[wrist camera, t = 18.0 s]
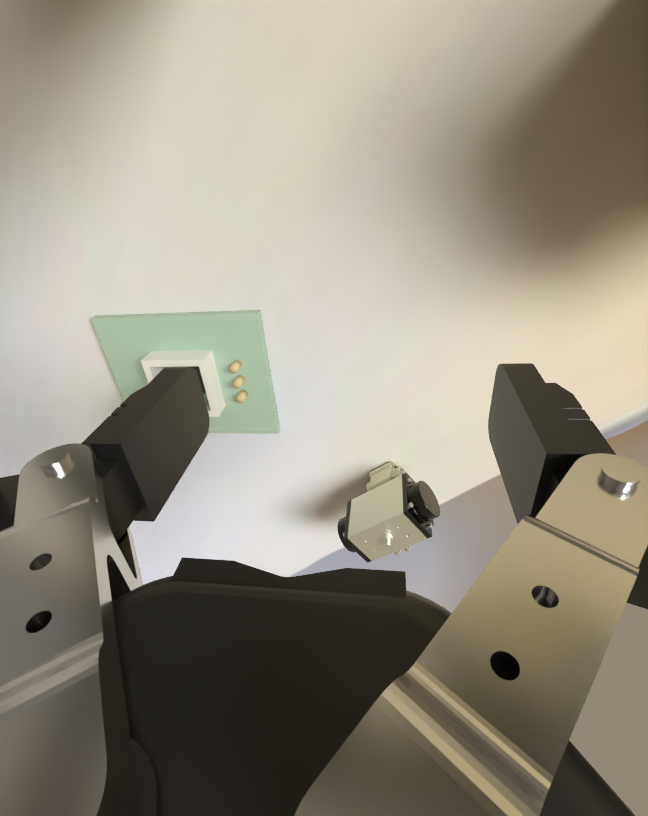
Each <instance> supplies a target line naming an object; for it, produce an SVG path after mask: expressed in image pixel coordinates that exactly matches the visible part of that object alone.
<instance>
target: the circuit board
mask: <svg viewBox="0 0 648 816" xmlns="http://www.w3.org/2000/svg"><path fill="white" fill-rule="evenodd" d="M91 322H92V324H93V327H94V329H95V332H96V334H97V337H98V339H99V342H100V344H101V347H102V349H103V352H104V354H105V357H106V359H107V362H108V364H109V367H110V369H111V372H112V374H113V377H114V379H115V382H116V384H117V387H118V389H119V392H120V394H121V397H122V399H123V402H124V401H125V400H126V399H127V398H128V397H129V396H130V395H131V394H132V393H134V392H136V391H138V390H139V389H141V388H143V387H144V386H146V385H148V384H149V383H150V382H151V381H152V380H153V379H154V377H155V376H156V375H157V374H158V373H159V372H160V371H161V370H162V369H164V368H166V367H182V366H199V368H200V372H201V376H202V380H203V383H204V387H205V391H206V392H205V394H204V399H205V402H206V406H207V410H208V413H209V430H208V433H279V431H280V425H279V419H278V413H277V407H276V401H275V395H274V389H273V383H272V377H271V371H270V365H269V359H268V353H267V348H266V342H265V336H264V330H263V324H262V318H261V312H260V310H249V311H220V312H190V313H161V314H132V315H102V316H94V317H93V318H91Z"/></svg>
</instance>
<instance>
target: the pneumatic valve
mask: <svg viewBox="0 0 648 816" xmlns="http://www.w3.org/2000/svg"><path fill="white" fill-rule="evenodd" d="M394 466H395V463H394V462H392V463H391V462H388V463H387V464H385V465H383V466H381V467H379V468H377V469H375V470H373V471H371V472H370V474H369V477H370V478H371V479H370V482H368V483H367V484H366V488H367V491H368V492H366V493H364V494H362V495H360V496H358V497H356V498H354V499H352V500H350V501H348V505H347V509H346V512H347V514H346V517H344V518H342V519H340V520H339V522H338V533H339V537H340V539H341V541H342V543H343V545H344V546H345V547H346V548H347V549H348V550H349V551H351V552H357V553H358V554H359V555H360V556H361V557H362V558H363V559H364V560H366V561H367V562H370V561H372V560H375V559H377V558H380V557H383V556H385V555H387V554H390V553H392V552H393V553H395V555H399V554H400V553H401V551H400V549H402V548H403V549H404V550H405V551H407V552H408V551H409V550H410V545H412V544H414V543H417V542H419V541H422V540H425V539H427V538H429V537H432V530H431V528H433V526H434V524H433V519H435V518H437V517H439V515H440V508H439V504H438V501H437V499H436V497H435V495H434V493H433V491H432V490H431V488H430V487H429V486H428V485H427V484H426V483H425V482H423V481H419V482H417V483H415V482H414V481H413V479H412V478H411V477H410V476H409V475H408V474H407V473H406V471H405V470H404V468H403V467H401V466H399V467H398V468H395V467H394Z"/></svg>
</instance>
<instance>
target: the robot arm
mask: <svg viewBox="0 0 648 816" xmlns="http://www.w3.org/2000/svg"><path fill="white" fill-rule="evenodd" d="M120 406H121V407H118V408H117V409H116V410H115V411H114V412H113V413H112V414H111V416H109V417H108V418H107V419H106V420H105V421H104V422H103V423H102V424H101V425H100V426H99V427H98V428H97V429H96V430H95V431H94V432H93V433H92V434H91V435H90V436H89V437H88V438H87V439H86V440H85V441H84V442H83V443H82V444H67V445H62V446H58V447H55V448H52V449H50V450H47V451H45V452H43V453H41V454H39V455H38V456H36V457H35V458H33V459H32V460H31V461H29V462H28V463H27V464H26V465H25V466H24V467H23V469H22V470H21V472H20V474H19V475H14V476H8V477H3V478H0V816H635V815H634V814H633V813H632V811H631V810H630V809H629V808H628V807H627V806H626V805H625V803H624V802H623V801H622V800H621V799H620V798H619V797H618V796H617V794H616V793H615V792H614V791H613V790H612V789H611V787H610V786H609V785H608V784H607V783H606V782H605V781H604V780H603V778H602V777H601V776H600V775H599V774H598V773H597V772H596V770H595V769H594V768H593V767H592V766H591V765H590V764H589V762H588V761H587V760H586V759H585V758H584V757H583V756H582V754H581V753H580V752H579V751H578V750H577V749H576V748H575V746H574V745H573V744H572V743H571V742H570V741H569V739H570V737H571V734H572V732H573V730H574V727H575V724H576V722H577V720H578V718H579V715H580V713H581V710H582V708H583V705H584V703H585V701H586V698H587V696H588V693H589V691H590V688H591V686H592V684H593V681H594V679H595V677H596V674H597V672H598V669H599V667H600V665H601V662H602V660H603V657H604V655H605V653H606V650H607V648H608V645H609V643H610V641H611V638H612V636H613V633H614V631H615V628H616V626H617V624H618V621H619V619H620V616H621V614H622V612H623V609H624V607H625V604H626V602H627V603H630V604H633V605H636V606H639V607H643V608H646V609H648V467H647V466H645V465H643V464H641V463H639V462H637V461H634V460H632V459H629V458H626V457H623V456H618V455H616V454H615V453H614V451H613V450H612V448H611V447H610V445H609V444H608V443H607V441H606V440H605V438H604V437H603V436H602V434H601V433H600V431H599V430H598V429H597V427H596V426H595V424H594V423H593V422H592V421H590V417H589V416H588V415H587V413H586V412H585V410H582V406H581V405H580V403H579V402H578V401H577V399H576V398H575V396H574V395H573V394H572V393H570V392H569V391H567V390H566V389H564V388H562V387H561V386H559V385H558V384H556V383H545V382H544V380H543V378H542V377H541V375H540V374H539V372H538V371H537V369H536V367H535V366H534V365H533V364H499V365H498V367H497V371H496V375H495V382H494V388H493V394H492V401H491V407H490V413H489V422H488V429H489V438H490V442H491V445H492V448H493V451H494V454H495V457H496V460H497V463H498V466H499V469H500V472H501V475H502V478H503V481H504V484H505V487H506V490H507V493H508V496H509V499H510V502H511V505H512V508H513V511H514V514H515V517H516V520H517V523H518V525H517V526H516V528H515V529H514V530H513V532H512V533H511V534H510V536H509V537H508V538H507V540H506V541H505V542H504V544H503V545H502V546H501V548H500V549H499V550H498V552H497V553H496V554H495V556H494V557H493V558H492V560H491V561H490V562H489V564H488V565H487V567H486V568H485V569H484V571H483V572H482V573H481V575H480V576H479V577H478V579H477V580H476V581H475V583H474V584H473V585H472V587H471V588H470V589H469V591H468V592H467V594H466V595H465V596H464V597H463V599H462V600H461V602H460V603H459V604H458V606H457V607H456V608H455V610H454V611H453V612H452V613H450V612H449V611H448V610H446V609H445V608H443V607H442V606H440V605H438V604H436V603H435V602H433V601H431V600H429V599H427V598H424V597H422V596H420V595H418V594H415V593H412V592H409V591H406V579H405V572H401V571H400V572H399V571H384V570H369V569H352V568H344V569H338V570H332V571H326V572H320V573H315V574H308V575H302V576H296V577H281V576H278V575H275V574H272V573H269V572H266V571H263V570H260V569H257V568H253V567H250V566H247V565H244V564H241V563H238V562H235V561H227V560H211V559H195V558H182V559H181V561H180V563H179V565H178V567H177V569H176V571H175V573H174V575H173V576H170V577H166V578H163V579H159V580H156V581H153V582H150V583H147V584H145V585H143V582H142V577H141V572H140V568H139V563H138V559H137V554H136V550H135V545H134V540H133V536H132V534H131V532H130V529H129V526H130V524H131V523H132V521H133V520H134V521H155V519H156V517H157V516H158V514H159V513H160V511H161V509H162V508H163V506H164V504H165V503H166V501H167V500H168V498H169V496H170V495H171V493H172V491H173V490H174V488H175V486H176V485H177V483H178V482H179V480H180V478H181V477H182V475H183V473H184V472H185V470H186V469H187V467H188V465H189V464H190V462H191V460H192V459H193V457H194V456H195V454H196V452H197V451H198V449H199V447H200V446H201V444H202V443H203V441H204V439H205V438H206V436H207V434H208V430H209V413H208V410H207V406H206V402H205V399H204V395H203V391H202V388H201V384H200V381H199V377H198V374H197V372H196V370H195V369H194V368H193V367H166V368H164V369H162V370H161V371H160V372H159V373H158V374H157V375H156V376H155V377H154V379H153V380H152V381H151V382H150V383H149V384H148V385H146V386H144V387H143V388H141V389H139V390H138V391H136V392H134V393H132V394H131V395H130V396H129V397H128V398H127V399H126V400H125V401H124V402H123V403H122V404H121V405H120Z"/></svg>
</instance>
